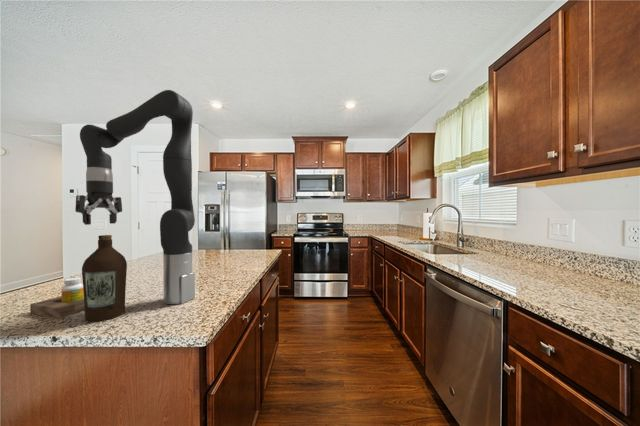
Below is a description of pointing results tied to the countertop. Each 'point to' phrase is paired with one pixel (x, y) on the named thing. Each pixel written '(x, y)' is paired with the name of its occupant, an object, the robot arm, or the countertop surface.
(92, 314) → the olive oil
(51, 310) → the socket board
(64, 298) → the supplement bottle
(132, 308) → the countertop surface
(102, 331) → the countertop surface
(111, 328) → the countertop surface
